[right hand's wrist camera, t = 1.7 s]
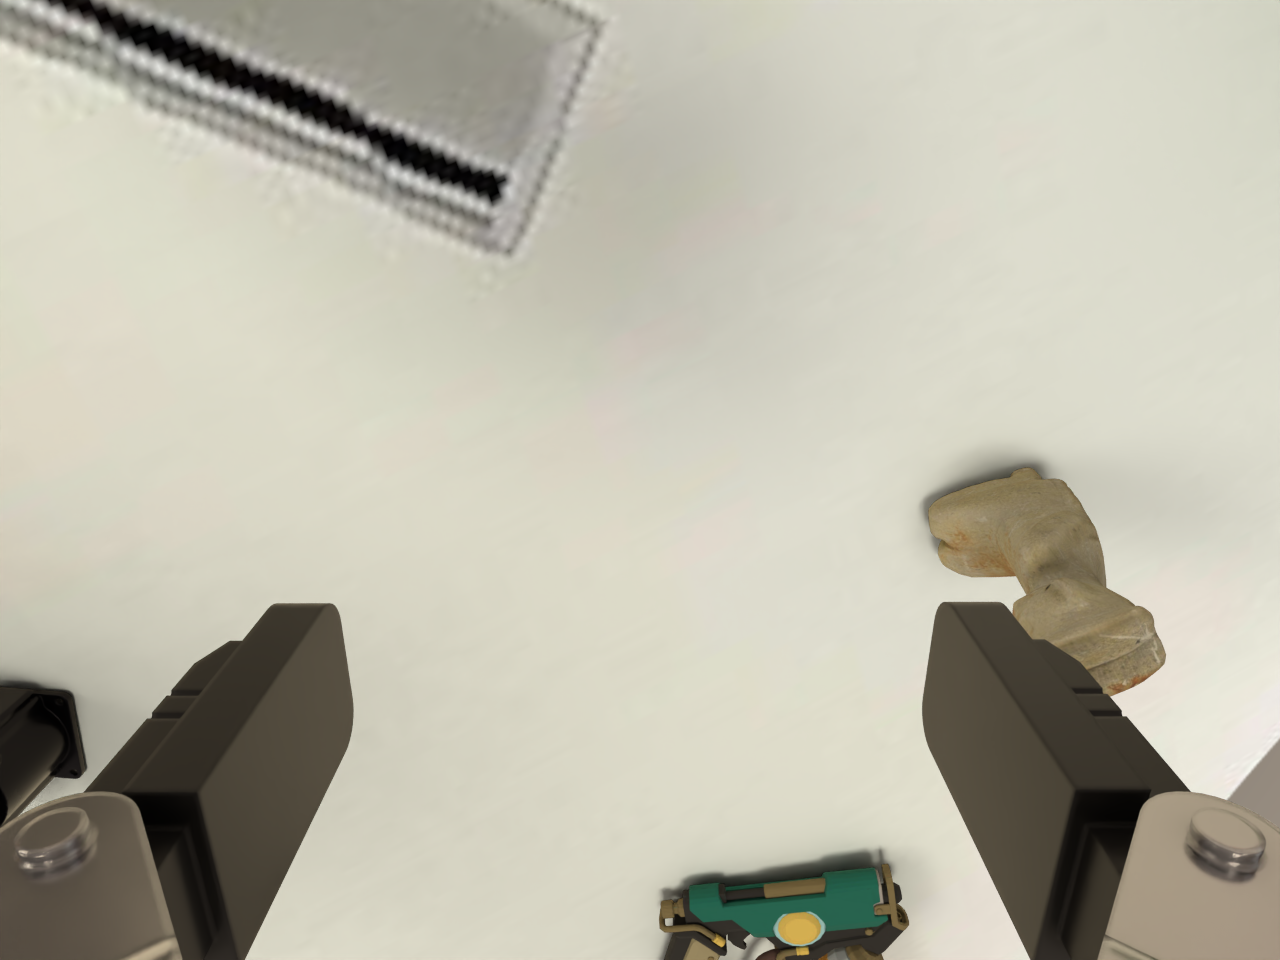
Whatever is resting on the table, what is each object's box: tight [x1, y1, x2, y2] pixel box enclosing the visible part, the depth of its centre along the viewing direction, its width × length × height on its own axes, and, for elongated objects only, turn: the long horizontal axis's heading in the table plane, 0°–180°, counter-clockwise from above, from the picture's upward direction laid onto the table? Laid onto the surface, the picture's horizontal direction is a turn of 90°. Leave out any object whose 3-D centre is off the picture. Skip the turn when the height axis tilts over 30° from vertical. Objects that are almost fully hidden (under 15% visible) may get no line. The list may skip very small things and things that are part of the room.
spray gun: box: [659, 864, 909, 960], centre depth 58 cm, size 4×17×15 cm
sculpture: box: [928, 468, 1166, 696], centre depth 41 cm, size 6×7×15 cm
